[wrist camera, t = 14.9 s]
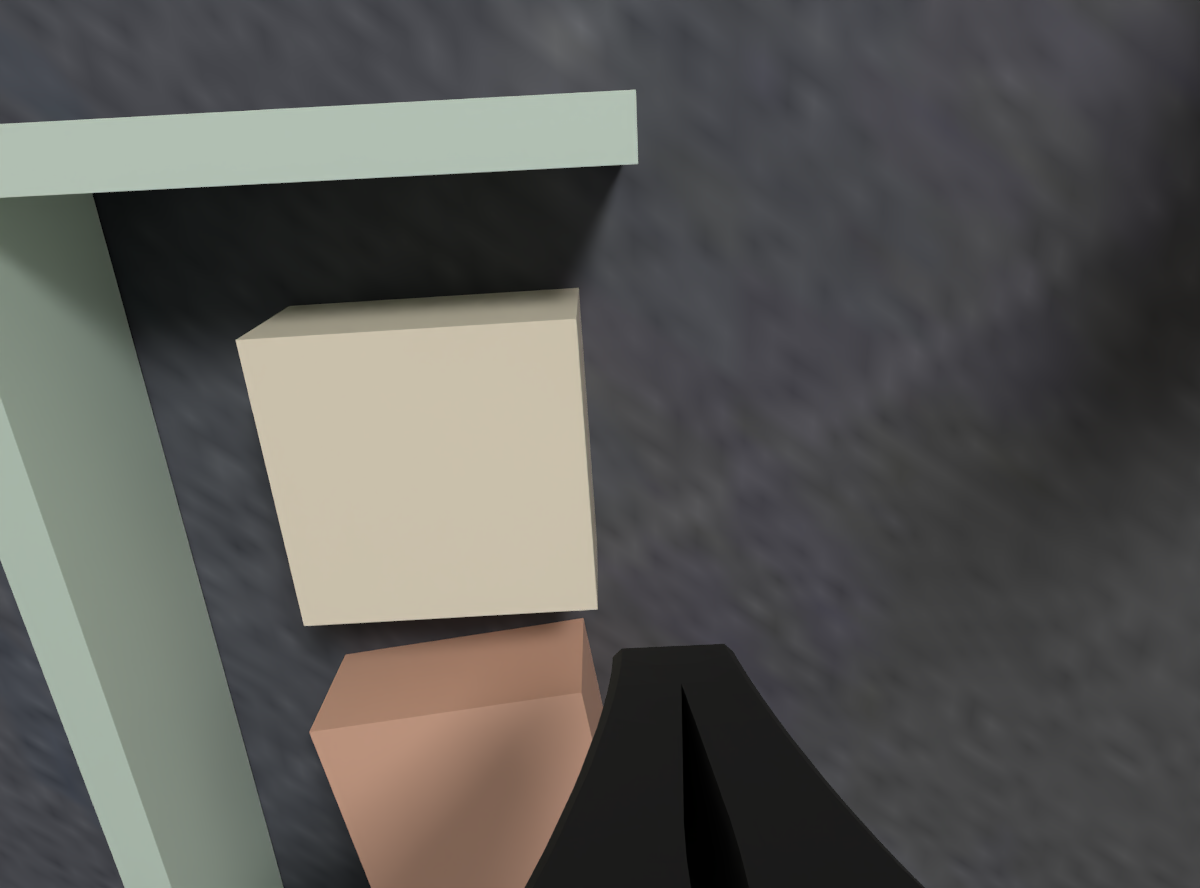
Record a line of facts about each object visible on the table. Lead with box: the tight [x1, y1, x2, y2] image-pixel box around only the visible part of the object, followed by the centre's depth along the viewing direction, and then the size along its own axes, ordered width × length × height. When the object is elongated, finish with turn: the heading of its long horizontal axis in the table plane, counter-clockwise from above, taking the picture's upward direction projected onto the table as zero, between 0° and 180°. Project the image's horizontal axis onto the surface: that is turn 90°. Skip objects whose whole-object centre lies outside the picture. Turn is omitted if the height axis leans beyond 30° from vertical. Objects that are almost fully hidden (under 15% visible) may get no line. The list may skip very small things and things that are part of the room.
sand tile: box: [236, 288, 598, 626], centre depth 17 cm, size 6×6×3 cm
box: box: [0, 90, 638, 888], centre depth 18 cm, size 22×12×4 cm, turn 3°
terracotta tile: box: [309, 618, 603, 888], centre depth 20 cm, size 6×6×3 cm
